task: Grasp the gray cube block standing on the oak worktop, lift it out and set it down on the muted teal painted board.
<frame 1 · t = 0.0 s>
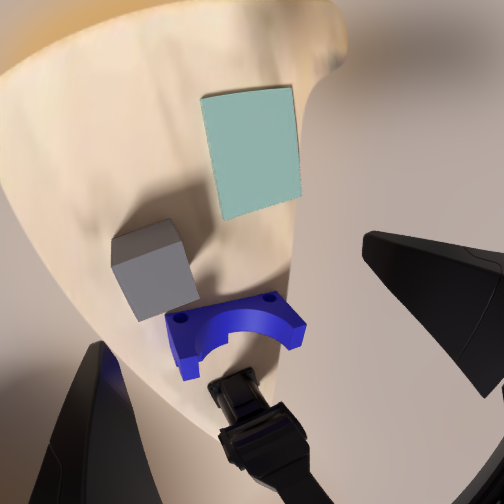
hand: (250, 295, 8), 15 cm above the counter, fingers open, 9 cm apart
blue arched bracket: (222, 317, 28), on the counter
gray cube block: (149, 254, 22), on the counter
teal board: (255, 150, 21), on the counter
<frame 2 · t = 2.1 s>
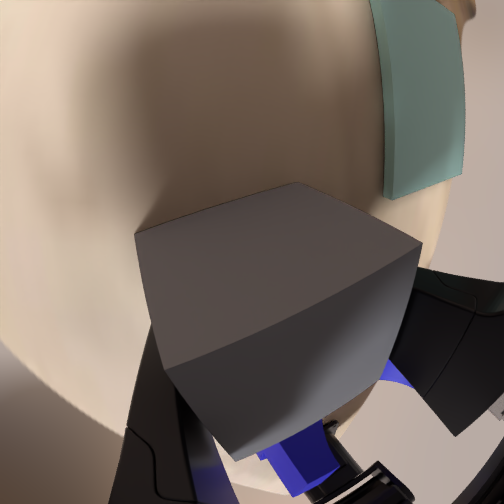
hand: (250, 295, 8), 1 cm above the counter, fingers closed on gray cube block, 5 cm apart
blue arched bracket: (328, 362, 15), on the counter
gray cube block: (236, 276, 9), on the counter, touching gripper
teal board: (428, 83, 9), on the counter
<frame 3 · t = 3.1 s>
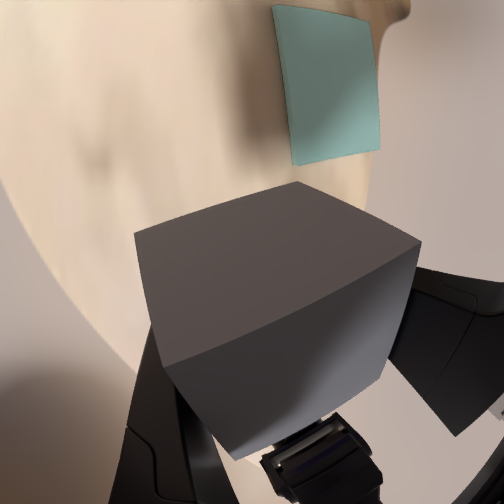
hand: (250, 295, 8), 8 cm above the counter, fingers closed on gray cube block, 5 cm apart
gray cube block: (236, 275, 9), point 7 cm above the counter, touching gripper
teal board: (334, 82, 14), on the counter
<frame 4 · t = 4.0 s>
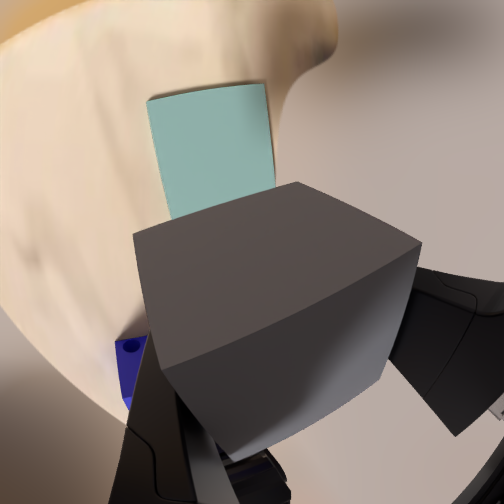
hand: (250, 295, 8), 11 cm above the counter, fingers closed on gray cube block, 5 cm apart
blue arched bracket: (185, 343, 23), on the counter
gray cube block: (235, 276, 9), point 10 cm above the counter, touching gripper
teal board: (217, 163, 17), on the counter
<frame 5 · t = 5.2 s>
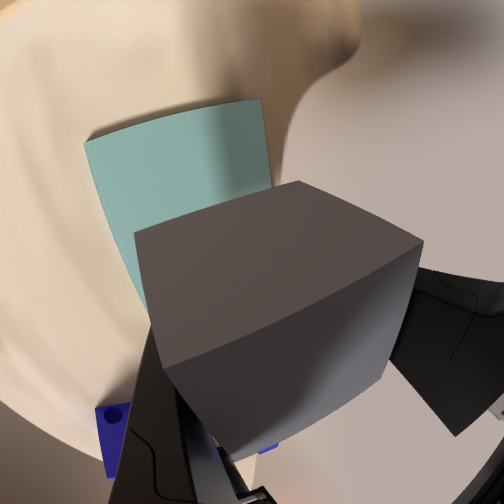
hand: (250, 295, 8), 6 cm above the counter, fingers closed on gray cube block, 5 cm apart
blue arched bracket: (173, 404, 19), on the counter
gray cube block: (236, 275, 9), point 5 cm above the counter, touching gripper
teal board: (196, 220, 13), on the counter
when the fingers open (3 cm above the counter, at t = 6.1 s): gray cube block drops 1 cm, resting on teal board.
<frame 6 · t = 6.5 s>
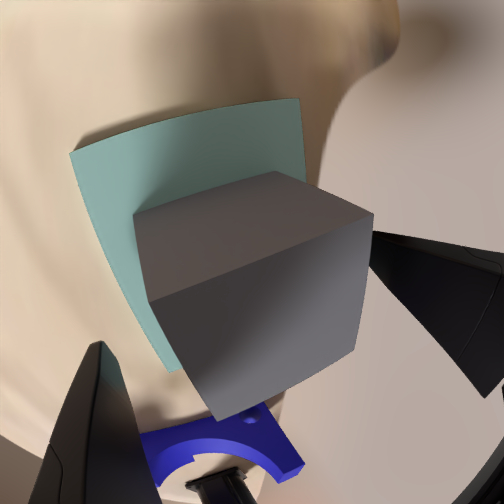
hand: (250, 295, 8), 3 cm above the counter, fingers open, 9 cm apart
blue arched bracket: (182, 433, 16), on the counter
gray cube block: (222, 254, 10), resting on teal board
teal board: (216, 249, 10), on the counter
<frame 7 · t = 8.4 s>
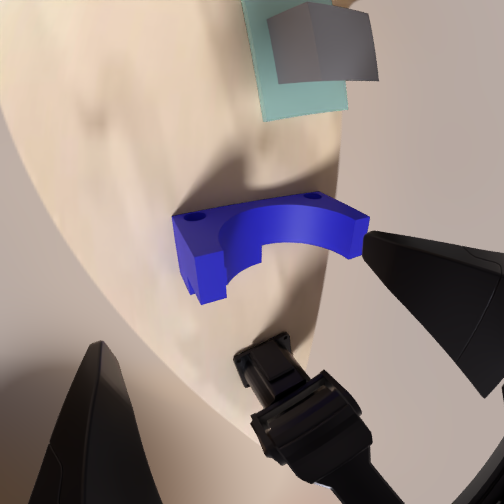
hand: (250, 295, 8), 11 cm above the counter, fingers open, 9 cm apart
blue arched bracket: (251, 227, 21), on the counter
gray cube block: (303, 50, 15), resting on teal board
teal board: (298, 51, 16), on the counter
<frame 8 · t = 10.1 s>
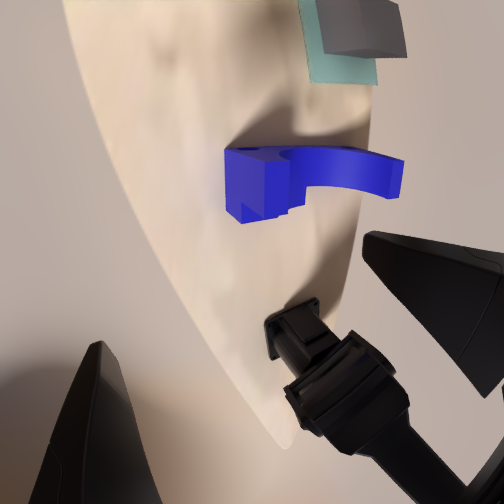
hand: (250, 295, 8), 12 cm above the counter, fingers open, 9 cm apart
blue arched bracket: (294, 172, 21), on the counter
gray cube block: (342, 30, 16), resting on teal board
teal board: (338, 31, 16), on the counter
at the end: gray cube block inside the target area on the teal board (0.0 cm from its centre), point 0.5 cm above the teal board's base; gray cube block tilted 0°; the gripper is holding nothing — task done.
